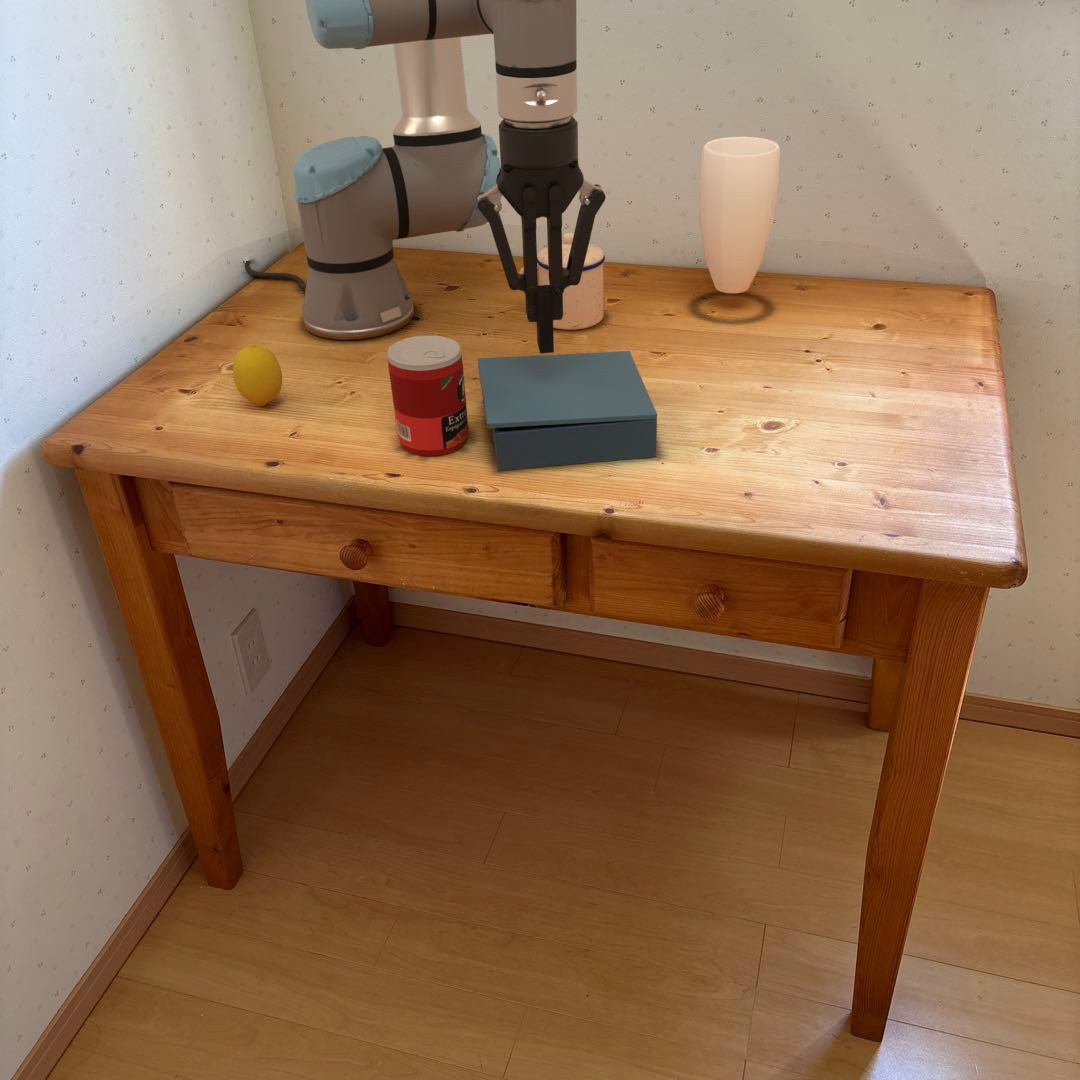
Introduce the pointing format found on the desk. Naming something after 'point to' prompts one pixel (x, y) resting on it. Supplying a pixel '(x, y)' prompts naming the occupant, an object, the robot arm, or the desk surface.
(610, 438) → the box
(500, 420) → the lunchbox lid
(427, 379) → the canned food
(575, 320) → the teacup with lid
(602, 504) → the desk surface
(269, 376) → the lemon
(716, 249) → the cup
